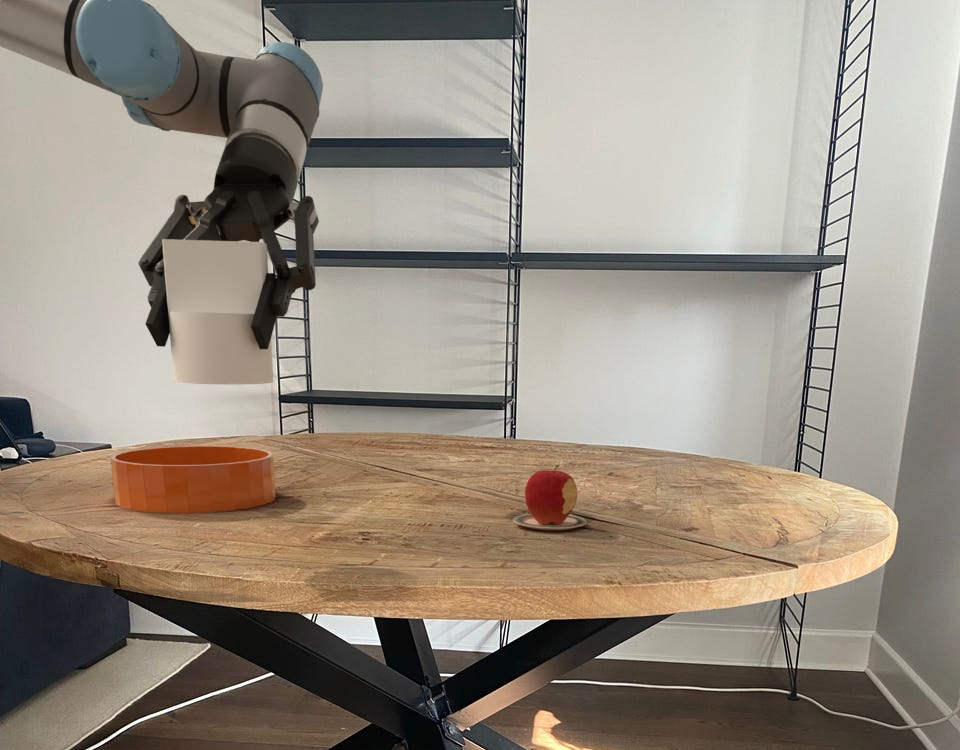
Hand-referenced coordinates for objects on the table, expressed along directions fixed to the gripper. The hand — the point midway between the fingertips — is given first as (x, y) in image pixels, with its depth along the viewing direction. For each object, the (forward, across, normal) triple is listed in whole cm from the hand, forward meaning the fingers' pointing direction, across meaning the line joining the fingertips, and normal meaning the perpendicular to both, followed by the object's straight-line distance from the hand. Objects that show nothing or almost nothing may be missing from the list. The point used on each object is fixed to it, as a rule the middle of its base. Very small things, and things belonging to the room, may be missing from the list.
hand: (207, 336), depth 81 cm
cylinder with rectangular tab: (+1, 0, -5) cm, 5 cm away
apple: (+1, -30, -26) cm, 40 cm away
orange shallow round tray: (-1, +12, -28) cm, 31 cm away
